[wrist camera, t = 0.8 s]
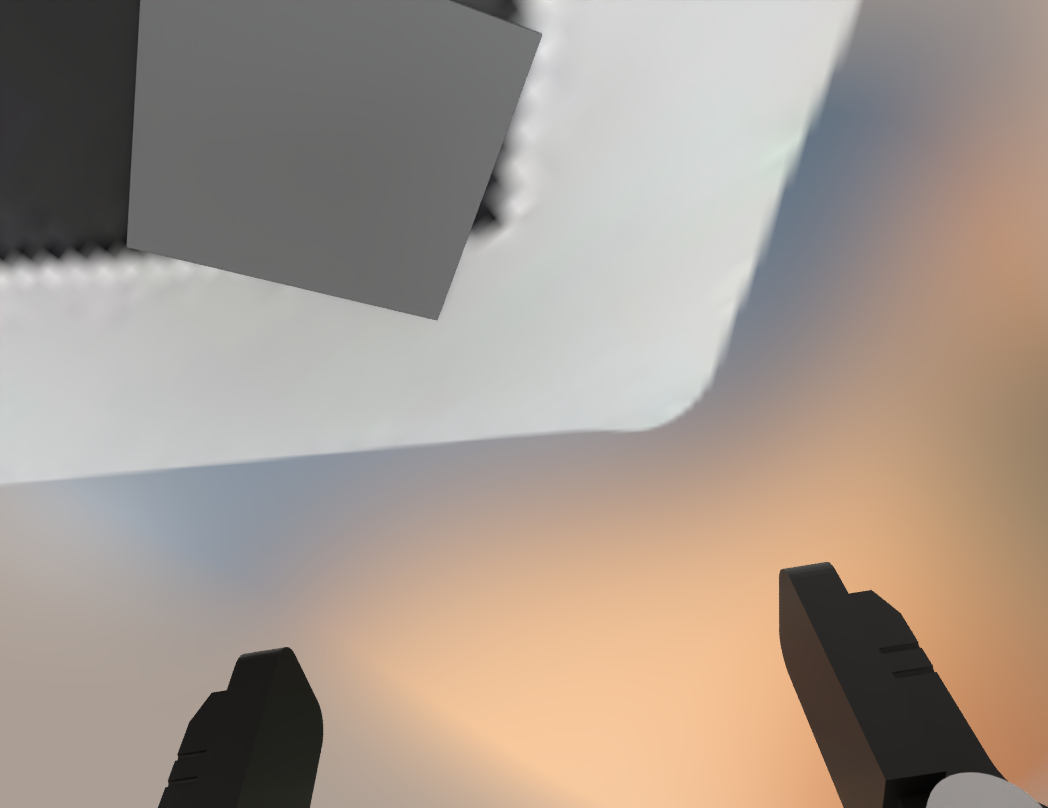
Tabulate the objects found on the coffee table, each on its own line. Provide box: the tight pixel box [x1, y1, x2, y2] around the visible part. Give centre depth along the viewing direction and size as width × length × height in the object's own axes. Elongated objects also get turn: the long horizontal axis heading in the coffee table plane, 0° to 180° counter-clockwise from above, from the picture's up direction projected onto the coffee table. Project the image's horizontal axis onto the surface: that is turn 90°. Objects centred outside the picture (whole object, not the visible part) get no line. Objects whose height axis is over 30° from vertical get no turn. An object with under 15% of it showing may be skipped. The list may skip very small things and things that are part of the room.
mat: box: [127, 0, 542, 320], centre depth 32 cm, size 14×14×1 cm
